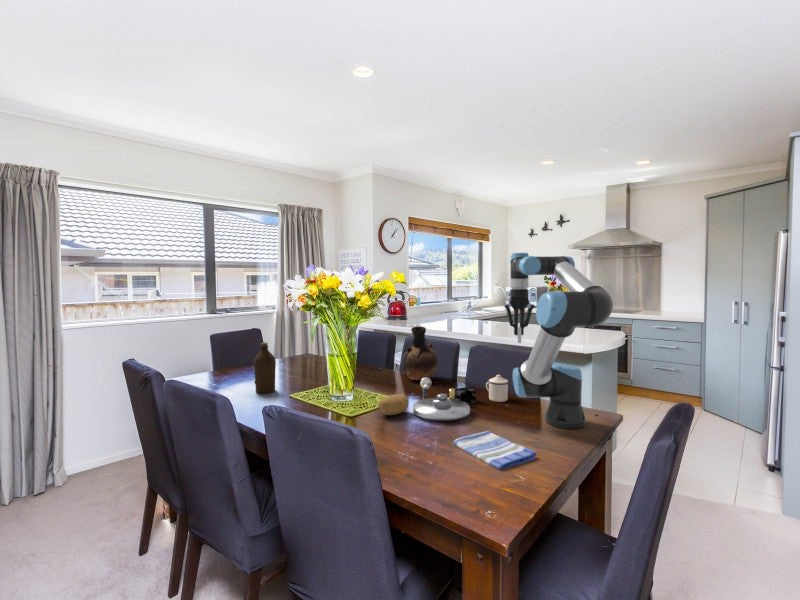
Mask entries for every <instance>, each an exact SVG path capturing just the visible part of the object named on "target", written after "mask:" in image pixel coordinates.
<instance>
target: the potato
mask: <svg viewBox="0 0 800 600" xmlns="http://www.w3.org/2000/svg"><path fill="white" fill-rule="evenodd" d="M377 406H378V408H379V410H380V411H381V412H382V413H384V414H385V415H387V416H395V415H398V414H401V413H403V412H405V411H406V410H407V409H408V408H409V407H408V406H409V398H408V397H407V395H405V394H404V393H399V394H390V395H388V396H385V397H383V398H381V399H380V400H379V401H378V405H377Z"/></svg>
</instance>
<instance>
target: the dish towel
mask: <svg viewBox="0 0 800 600" xmlns="http://www.w3.org/2000/svg"><path fill="white" fill-rule="evenodd" d="M453 445H454V446H456V447H458V448H459V449H461V450H462V451H464V452H465V453H467V454H469V455H471V456H472V457H475V458H476V459H478V460H480V461H481V462H483V463H484V464H487V465H489V466H491V467H493V468H495V469H497V470H500V471H501V470H505V469H507V468H512V467H516V466H519V465H522V464H524V463H528V462H531V461H534V460H537V457H536V456H537V453H536V452H535V451H534V450H533V449H530V448H527V447H525V446H523V445H520V444H518V443H514V442H511V441H510V440H509V439H506V438H504V437H502V436H500V435H498V434H495V433H493V432H491V430H486V431H482V432H478V433H477V432H476V433H473V434H471V435H470V434H469V435H466V436H462V437H461V436H460V437H458V438H456V439H455V440H454V441H453Z"/></svg>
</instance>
